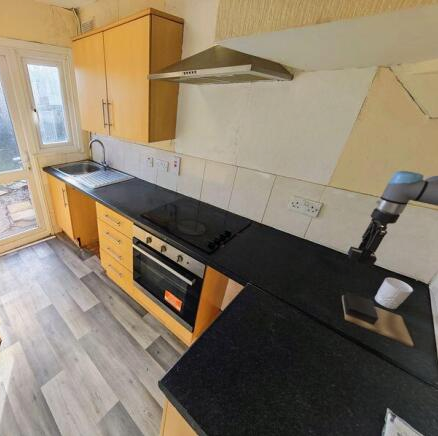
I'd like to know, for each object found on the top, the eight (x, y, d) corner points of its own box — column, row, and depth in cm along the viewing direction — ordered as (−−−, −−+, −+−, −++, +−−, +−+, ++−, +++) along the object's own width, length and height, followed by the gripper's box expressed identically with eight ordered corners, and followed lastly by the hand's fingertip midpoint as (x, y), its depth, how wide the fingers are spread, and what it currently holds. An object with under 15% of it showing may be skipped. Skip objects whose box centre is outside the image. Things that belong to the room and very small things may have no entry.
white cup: (402, 307, 91) (417, 289, 86) (392, 312, 88) (406, 294, 84) (379, 293, 97) (391, 275, 93) (368, 298, 95) (380, 280, 90)
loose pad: (370, 259, 100) (374, 252, 98) (372, 266, 95) (377, 259, 93) (347, 252, 103) (351, 246, 102) (348, 259, 99) (352, 252, 97)
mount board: (400, 318, 86) (406, 309, 84) (412, 346, 75) (420, 338, 73) (341, 296, 95) (346, 288, 93) (345, 319, 84) (350, 311, 82)
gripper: (370, 201, 98) (347, 246, 108) (379, 216, 83) (351, 266, 94) (394, 206, 94) (367, 251, 104) (407, 222, 80) (375, 273, 90)
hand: (359, 258), depth 99 cm, fingers closed on loose pad, 6 cm apart
